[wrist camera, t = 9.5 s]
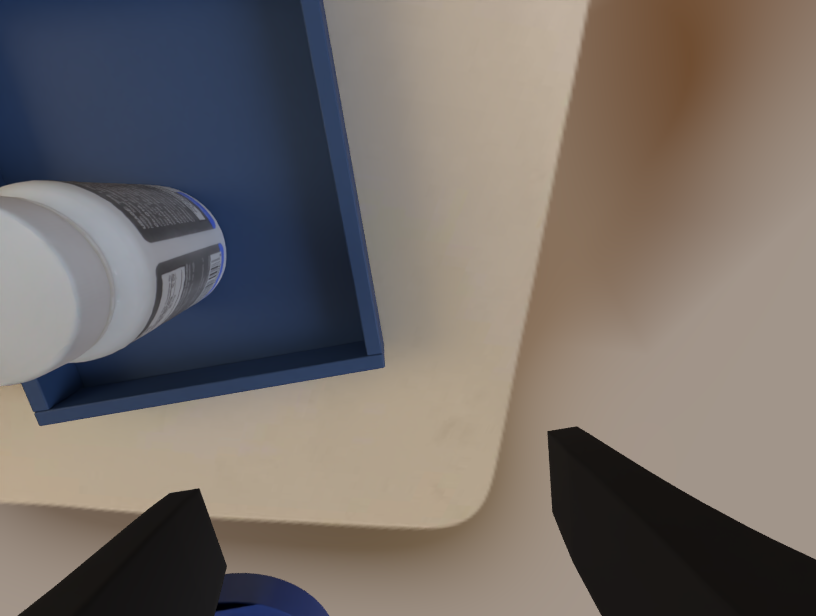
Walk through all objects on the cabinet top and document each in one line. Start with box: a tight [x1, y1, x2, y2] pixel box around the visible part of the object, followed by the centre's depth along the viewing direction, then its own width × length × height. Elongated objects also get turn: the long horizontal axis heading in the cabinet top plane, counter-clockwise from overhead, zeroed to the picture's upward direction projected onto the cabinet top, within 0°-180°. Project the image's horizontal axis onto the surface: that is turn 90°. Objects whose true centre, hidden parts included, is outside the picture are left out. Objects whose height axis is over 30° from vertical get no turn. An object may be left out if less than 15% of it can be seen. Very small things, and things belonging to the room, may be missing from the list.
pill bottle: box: [0, 180, 226, 386], centre depth 13 cm, size 5×5×8 cm
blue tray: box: [0, 0, 385, 426], centre depth 16 cm, size 15×13×3 cm
